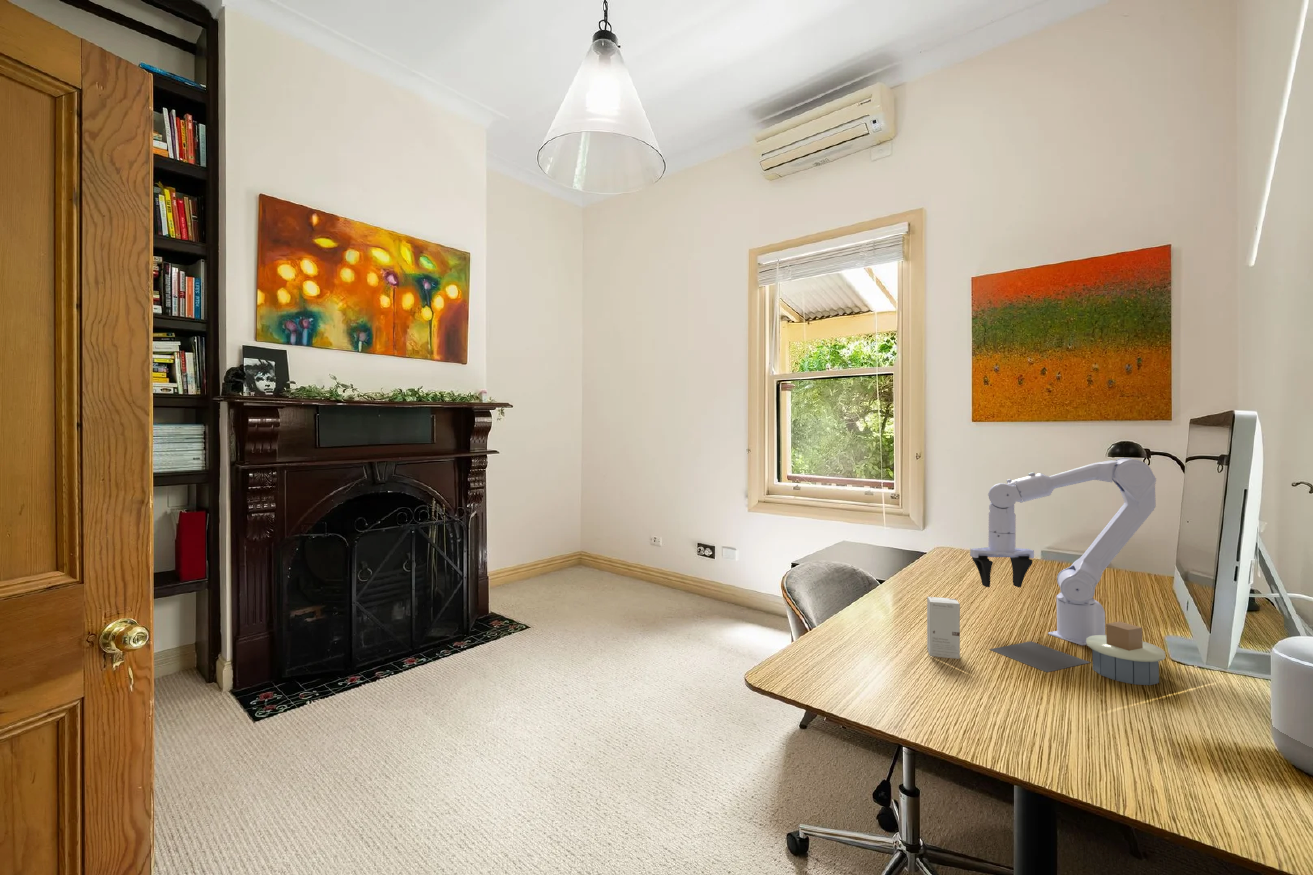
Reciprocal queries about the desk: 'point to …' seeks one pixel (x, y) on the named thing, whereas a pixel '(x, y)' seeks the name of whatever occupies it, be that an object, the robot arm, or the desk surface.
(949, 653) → the skincare box
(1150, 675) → the bowl
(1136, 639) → the lid
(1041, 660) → the mat
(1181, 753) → the desk surface
